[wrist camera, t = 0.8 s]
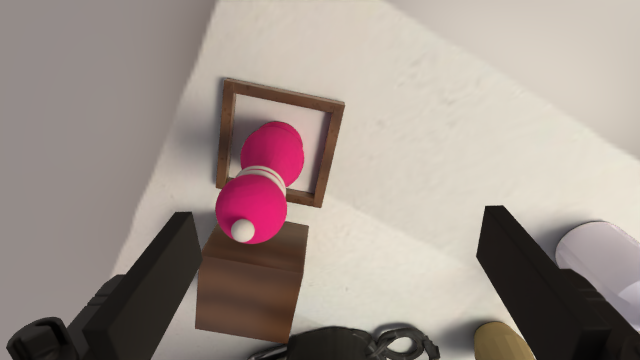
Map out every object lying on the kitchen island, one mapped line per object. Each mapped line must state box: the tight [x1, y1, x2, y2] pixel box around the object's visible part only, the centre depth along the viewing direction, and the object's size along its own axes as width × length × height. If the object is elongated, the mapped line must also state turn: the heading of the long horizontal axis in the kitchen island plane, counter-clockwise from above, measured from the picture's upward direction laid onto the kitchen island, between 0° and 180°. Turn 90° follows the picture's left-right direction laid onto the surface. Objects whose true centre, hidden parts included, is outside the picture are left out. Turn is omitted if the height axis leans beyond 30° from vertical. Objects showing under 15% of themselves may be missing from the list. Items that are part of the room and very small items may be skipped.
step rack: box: [195, 78, 345, 344], centre depth 43 cm, size 30×14×10 cm, turn 169°
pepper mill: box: [215, 122, 304, 244], centre depth 35 cm, size 7×7×20 cm
